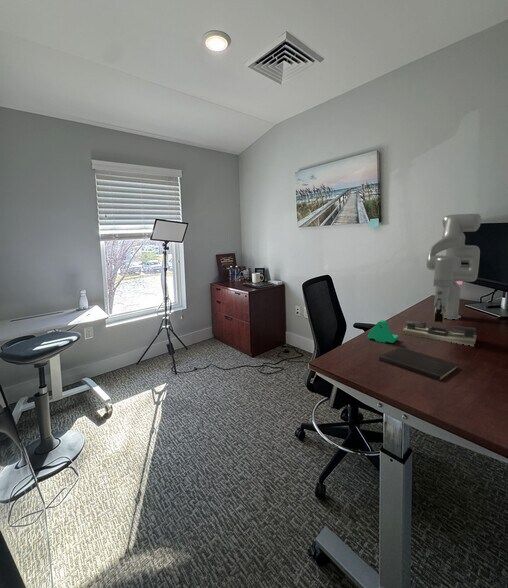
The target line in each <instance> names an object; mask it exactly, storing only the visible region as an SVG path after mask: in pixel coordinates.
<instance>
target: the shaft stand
mask: <svg viewBox="0 0 508 588" xmlns="http://www.w3.org/2000/svg"><path fill="white" fill-rule="evenodd" d="M451 328H452V329H451V331H450V330H449V328H445V327H444V328H443V327H437V326H436V327H435V326H429V327H427V322H421V321H416V320H415V321H414V320H409V319H408V320H405V327H404V328H403V329H401V334H402V335H405V334H406V335H405V336H411V335H412V336H411V337H417V338H422V337H423V339H428V338H429V339H430V340H434V341H439V340H440V341H441V342H445V341H446V342H447V343H451V342H452V344H456V343H457V345H462V344H464V345H463V346H468V345H470V346H469V347H475V345H474V344H476V340H477V328H476V327H471V326H470V327H469V326H458V325H452V327H451ZM440 341H439V342H440Z"/></svg>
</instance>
